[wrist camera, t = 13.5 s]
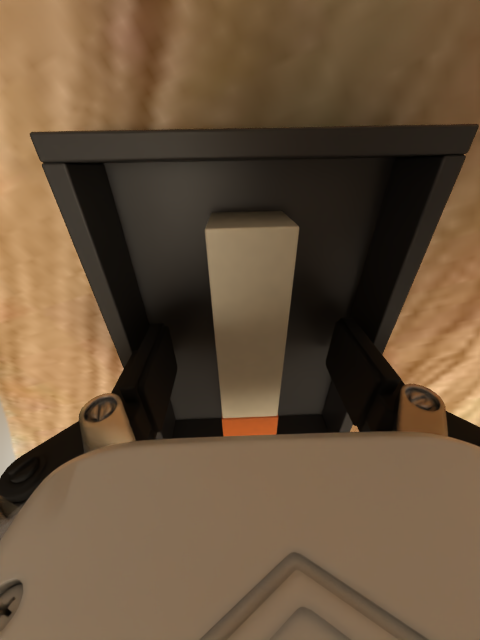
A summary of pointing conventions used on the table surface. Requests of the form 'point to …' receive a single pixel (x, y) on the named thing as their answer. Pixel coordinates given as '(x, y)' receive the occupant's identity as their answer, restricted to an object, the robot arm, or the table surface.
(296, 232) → the rectangular block
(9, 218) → the table surface
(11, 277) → the table surface
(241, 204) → the tray
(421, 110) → the table surface
